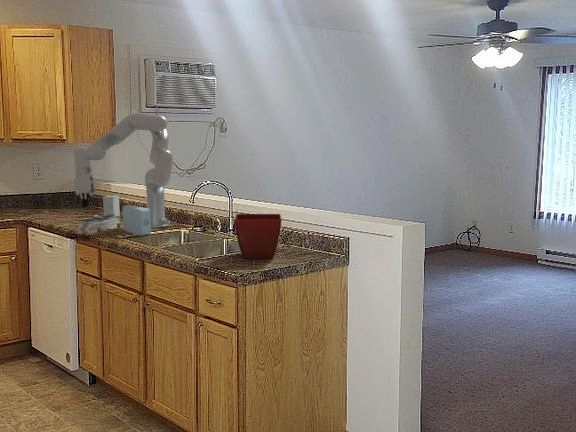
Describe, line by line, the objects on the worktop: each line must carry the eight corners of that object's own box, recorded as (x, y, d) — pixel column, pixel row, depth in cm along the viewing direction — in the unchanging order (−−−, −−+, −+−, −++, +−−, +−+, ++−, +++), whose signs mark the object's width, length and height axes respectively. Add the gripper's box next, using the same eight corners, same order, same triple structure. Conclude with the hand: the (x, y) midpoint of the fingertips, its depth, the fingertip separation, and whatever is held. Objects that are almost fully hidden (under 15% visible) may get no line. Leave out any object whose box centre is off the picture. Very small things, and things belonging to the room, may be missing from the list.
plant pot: (280, 251, 302) (280, 213, 300) (281, 260, 283) (281, 219, 281) (236, 252, 301) (236, 213, 299) (235, 260, 282) (234, 219, 280)
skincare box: (114, 224, 386) (113, 196, 384) (103, 224, 387) (102, 196, 385) (120, 222, 394) (119, 195, 392) (109, 222, 396) (108, 195, 394)
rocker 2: (105, 221, 365) (106, 217, 364) (101, 221, 361) (101, 218, 361) (96, 218, 367) (96, 214, 367) (92, 219, 364) (92, 215, 363)
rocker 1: (95, 221, 357) (95, 218, 357) (91, 222, 354) (90, 218, 354) (86, 221, 360) (86, 218, 360) (81, 222, 357) (81, 218, 356)
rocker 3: (115, 217, 372) (114, 213, 372) (110, 217, 369) (110, 214, 368) (106, 218, 374) (105, 215, 374) (101, 219, 371) (101, 215, 371)
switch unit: (127, 227, 373) (127, 218, 373) (96, 235, 350) (95, 225, 349) (106, 226, 379) (106, 217, 378) (74, 233, 355) (73, 223, 355)
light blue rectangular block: (122, 230, 364) (121, 205, 362) (132, 229, 368) (131, 204, 366) (140, 236, 346) (139, 210, 344) (151, 235, 349) (150, 209, 347)
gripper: (99, 170, 355) (102, 205, 358) (76, 170, 361) (79, 205, 364) (89, 171, 348) (92, 207, 351) (66, 171, 354) (69, 207, 357)
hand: (85, 206), depth 357 cm, fingers closed
